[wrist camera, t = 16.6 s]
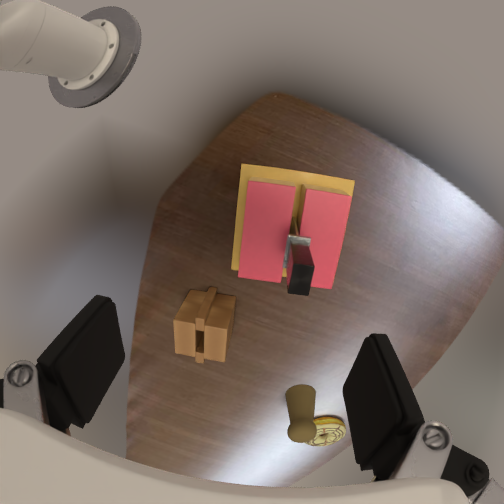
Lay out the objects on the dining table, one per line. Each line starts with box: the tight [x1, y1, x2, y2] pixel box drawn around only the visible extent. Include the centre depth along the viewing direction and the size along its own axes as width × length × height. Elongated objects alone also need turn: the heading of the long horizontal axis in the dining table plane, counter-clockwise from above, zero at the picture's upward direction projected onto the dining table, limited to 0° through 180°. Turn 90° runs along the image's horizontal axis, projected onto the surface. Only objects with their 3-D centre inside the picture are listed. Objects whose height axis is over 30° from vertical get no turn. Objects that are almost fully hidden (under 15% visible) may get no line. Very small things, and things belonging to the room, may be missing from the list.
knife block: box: [173, 287, 236, 363], centre depth 40 cm, size 7×8×8 cm
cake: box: [231, 164, 355, 289], centre depth 35 cm, size 15×15×5 cm
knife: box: [282, 217, 315, 296], centre depth 30 cm, size 2×4×16 cm, turn 173°
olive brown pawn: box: [285, 385, 317, 443], centre depth 44 cm, size 6×6×11 cm
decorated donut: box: [304, 417, 346, 446], centre depth 52 cm, size 10×11×4 cm
